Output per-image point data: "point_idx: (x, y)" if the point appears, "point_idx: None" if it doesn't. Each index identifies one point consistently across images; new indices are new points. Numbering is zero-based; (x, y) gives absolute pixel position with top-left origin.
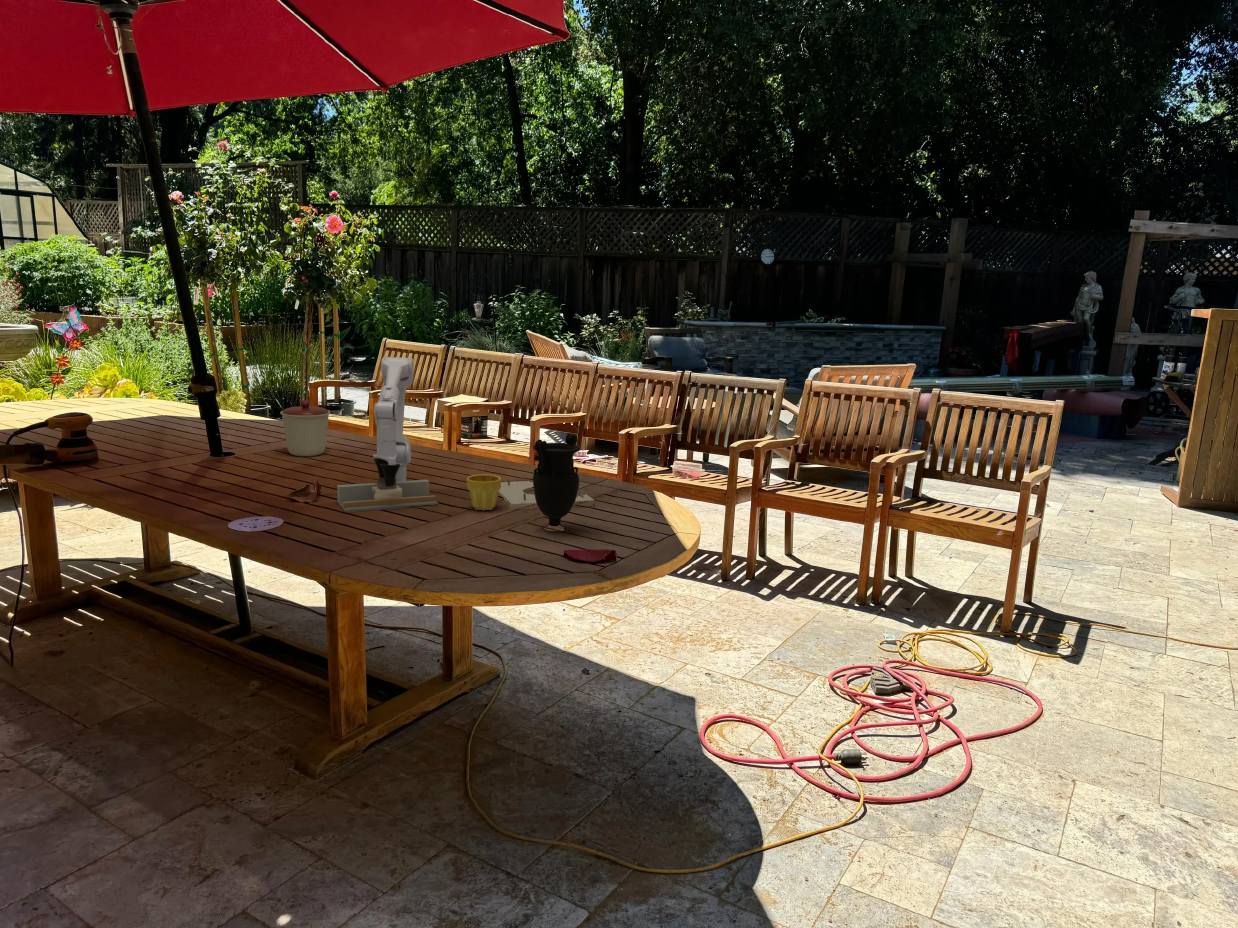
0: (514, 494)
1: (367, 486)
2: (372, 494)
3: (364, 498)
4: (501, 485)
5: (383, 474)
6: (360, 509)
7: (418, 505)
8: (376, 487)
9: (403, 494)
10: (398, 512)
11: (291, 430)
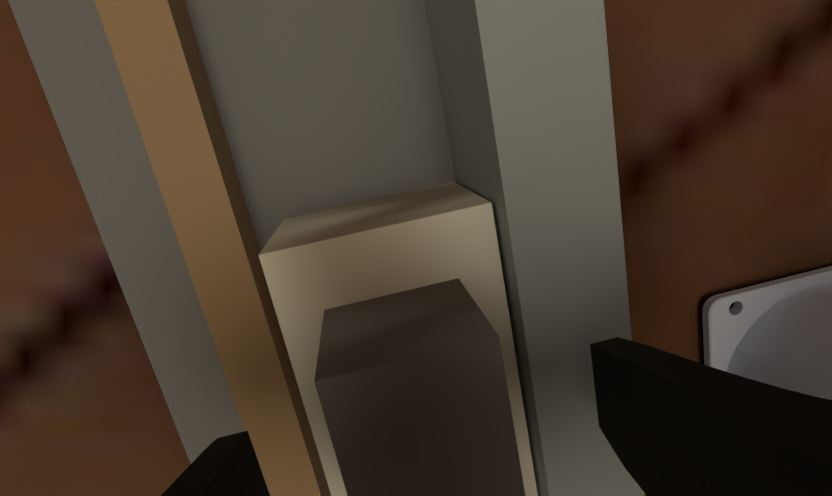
0: None
1: (489, 137)
2: (448, 193)
3: (445, 98)
4: None
5: (660, 441)
6: (32, 44)
7: None
8: (466, 262)
9: None
10: (27, 418)
11: None
